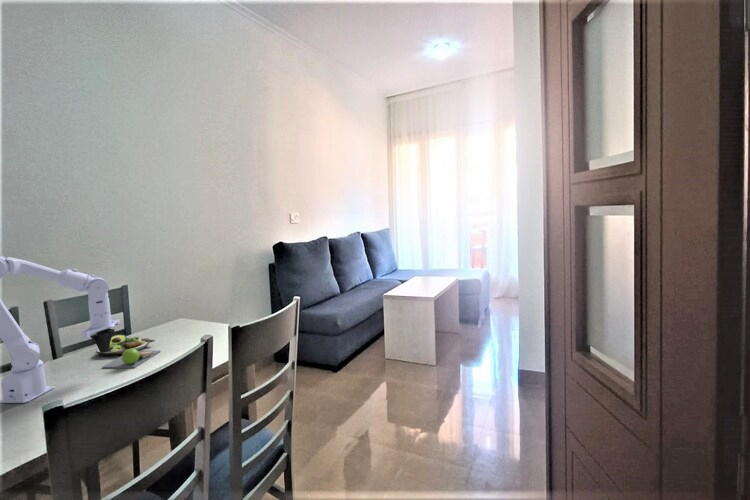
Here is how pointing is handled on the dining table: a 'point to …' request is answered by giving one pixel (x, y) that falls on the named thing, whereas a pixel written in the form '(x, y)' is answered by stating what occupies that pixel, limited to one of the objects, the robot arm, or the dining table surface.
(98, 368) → the dining table surface
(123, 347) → the salad plate
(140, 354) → the snail figurine
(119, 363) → the slate mat
